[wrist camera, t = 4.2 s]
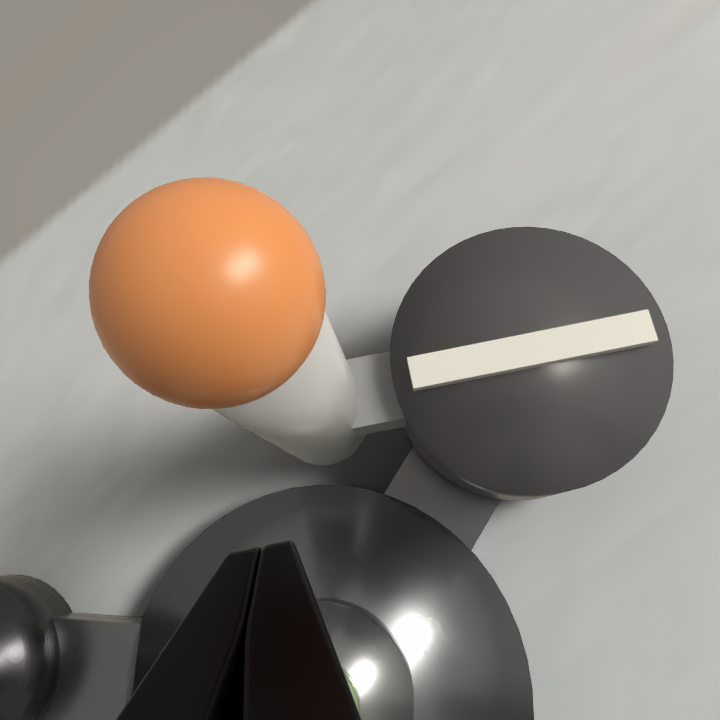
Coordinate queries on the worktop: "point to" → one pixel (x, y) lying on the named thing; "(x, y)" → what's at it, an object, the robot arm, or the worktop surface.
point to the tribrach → (334, 597)
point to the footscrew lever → (407, 348)
